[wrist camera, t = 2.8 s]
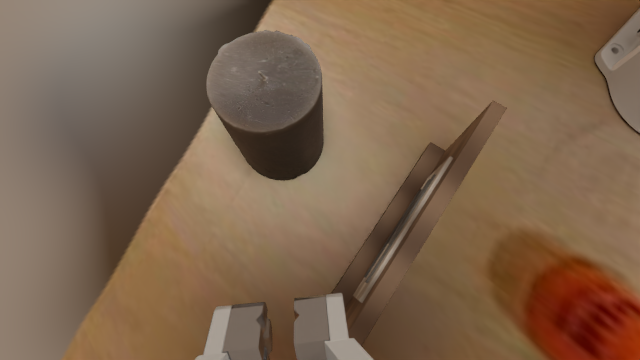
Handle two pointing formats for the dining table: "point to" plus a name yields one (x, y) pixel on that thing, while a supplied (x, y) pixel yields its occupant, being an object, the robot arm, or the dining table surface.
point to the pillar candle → (270, 101)
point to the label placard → (409, 224)
